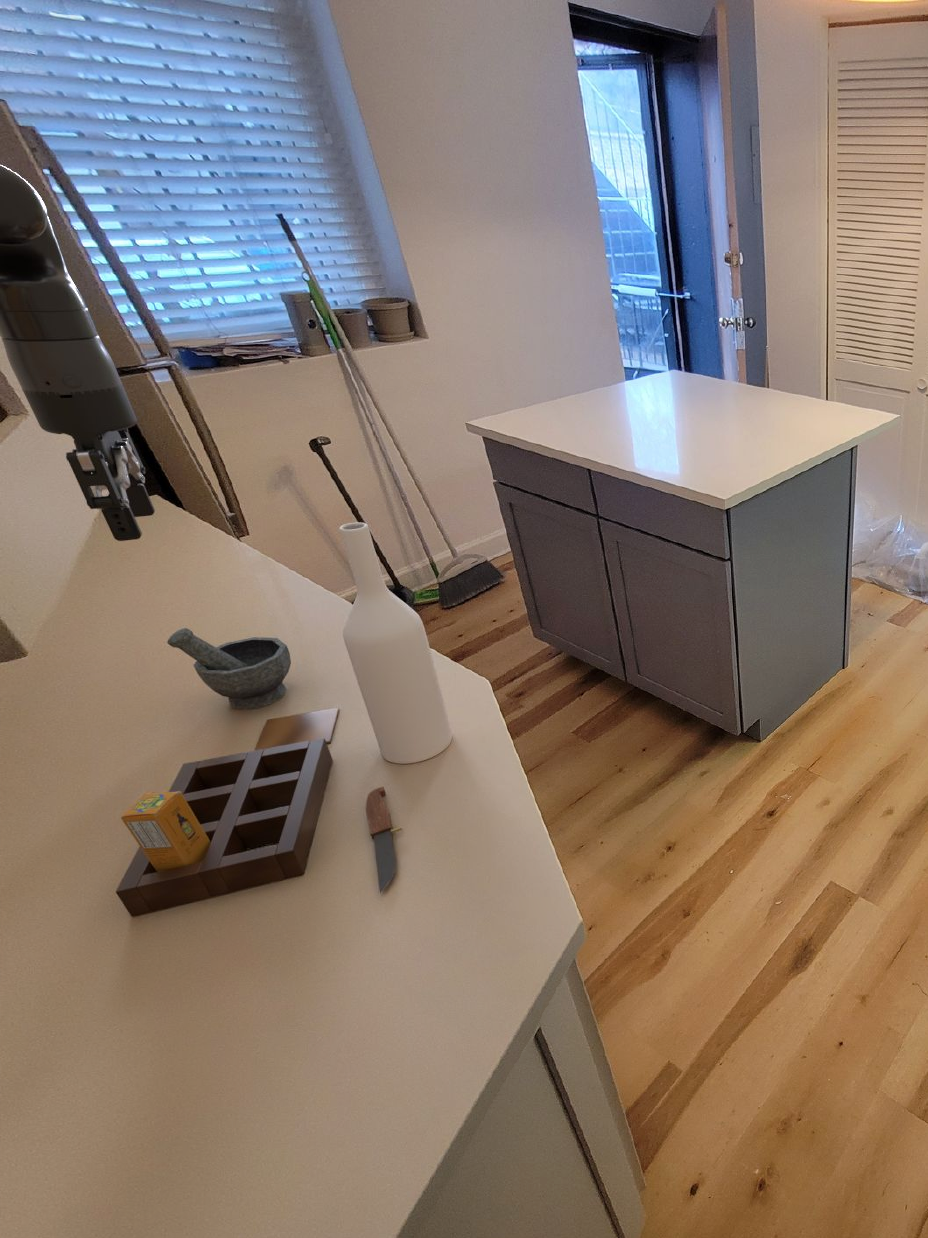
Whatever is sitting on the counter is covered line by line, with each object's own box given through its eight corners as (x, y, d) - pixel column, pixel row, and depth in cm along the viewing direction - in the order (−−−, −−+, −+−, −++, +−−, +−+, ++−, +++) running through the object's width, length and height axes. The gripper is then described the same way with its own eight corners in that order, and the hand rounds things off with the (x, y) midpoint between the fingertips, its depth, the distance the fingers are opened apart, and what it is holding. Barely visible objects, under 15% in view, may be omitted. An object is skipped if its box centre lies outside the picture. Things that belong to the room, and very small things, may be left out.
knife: (413, 877, 70) (378, 890, 68) (415, 884, 70) (381, 897, 68) (391, 783, 81) (361, 792, 79) (393, 789, 82) (363, 799, 80)
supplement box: (187, 864, 71) (145, 790, 66) (223, 862, 71) (185, 789, 66) (163, 890, 68) (117, 815, 63) (201, 888, 68) (159, 814, 63)
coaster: (253, 758, 85) (252, 755, 85) (267, 721, 91) (266, 719, 91) (330, 743, 88) (329, 741, 88) (339, 709, 95) (338, 707, 94)
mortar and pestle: (299, 671, 102) (272, 599, 96) (304, 701, 96) (275, 626, 90) (200, 694, 96) (164, 618, 90) (199, 728, 89) (160, 649, 84)
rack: (131, 917, 65) (114, 892, 63) (194, 786, 80) (183, 763, 79) (304, 874, 70) (293, 850, 69) (333, 760, 86) (324, 737, 84)
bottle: (456, 752, 88) (399, 532, 74) (383, 772, 84) (307, 544, 70) (448, 719, 94) (393, 510, 80) (379, 736, 90) (308, 519, 76)
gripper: (41, 372, 76) (106, 512, 84) (-2, 396, 66) (76, 553, 74) (133, 371, 80) (187, 505, 88) (105, 393, 70) (169, 542, 77)
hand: (137, 526), depth 81 cm, fingers open, 8 cm apart
